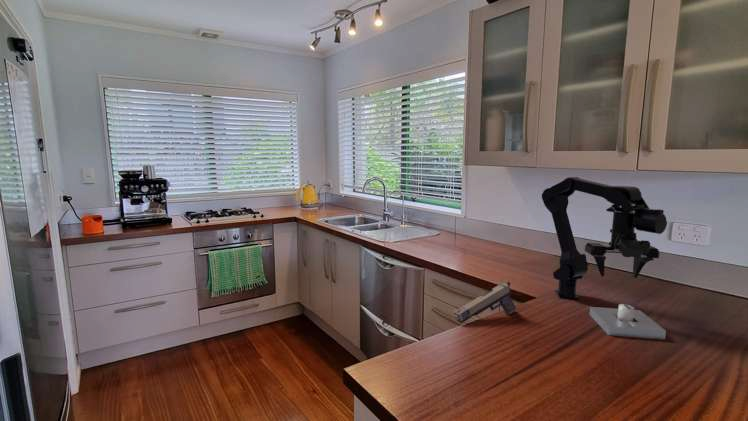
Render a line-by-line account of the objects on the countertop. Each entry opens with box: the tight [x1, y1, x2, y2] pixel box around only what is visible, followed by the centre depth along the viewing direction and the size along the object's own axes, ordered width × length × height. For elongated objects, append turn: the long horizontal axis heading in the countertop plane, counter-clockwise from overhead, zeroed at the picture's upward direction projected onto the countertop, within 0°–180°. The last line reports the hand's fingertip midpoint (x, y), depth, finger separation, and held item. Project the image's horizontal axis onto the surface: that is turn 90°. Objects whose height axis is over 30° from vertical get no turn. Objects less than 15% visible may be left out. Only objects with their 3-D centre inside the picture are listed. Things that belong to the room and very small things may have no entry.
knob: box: [617, 303, 635, 322], centre depth 110 cm, size 4×4×6 cm
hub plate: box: [589, 306, 667, 340], centre depth 110 cm, size 14×14×3 cm
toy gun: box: [453, 281, 518, 324], centre depth 116 cm, size 2×21×10 cm, turn 112°
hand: (618, 277), depth 117 cm, fingers open, 9 cm apart
